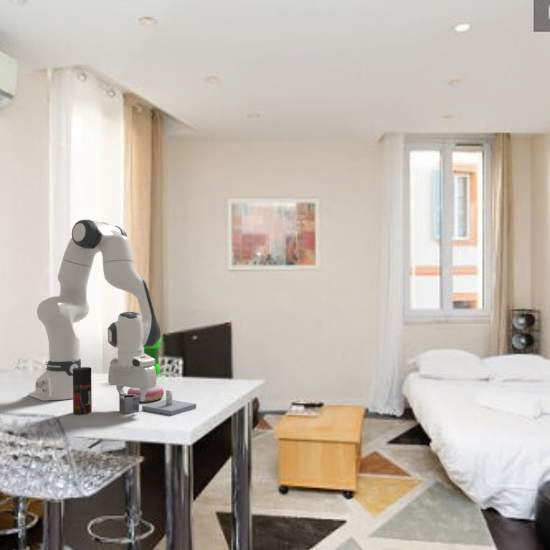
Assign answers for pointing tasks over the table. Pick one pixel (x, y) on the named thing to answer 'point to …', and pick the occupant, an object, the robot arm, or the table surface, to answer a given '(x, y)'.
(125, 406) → the ring
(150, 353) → the plastic bottle
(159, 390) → the donut
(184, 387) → the table surface
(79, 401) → the deodorant
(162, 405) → the shaft block
